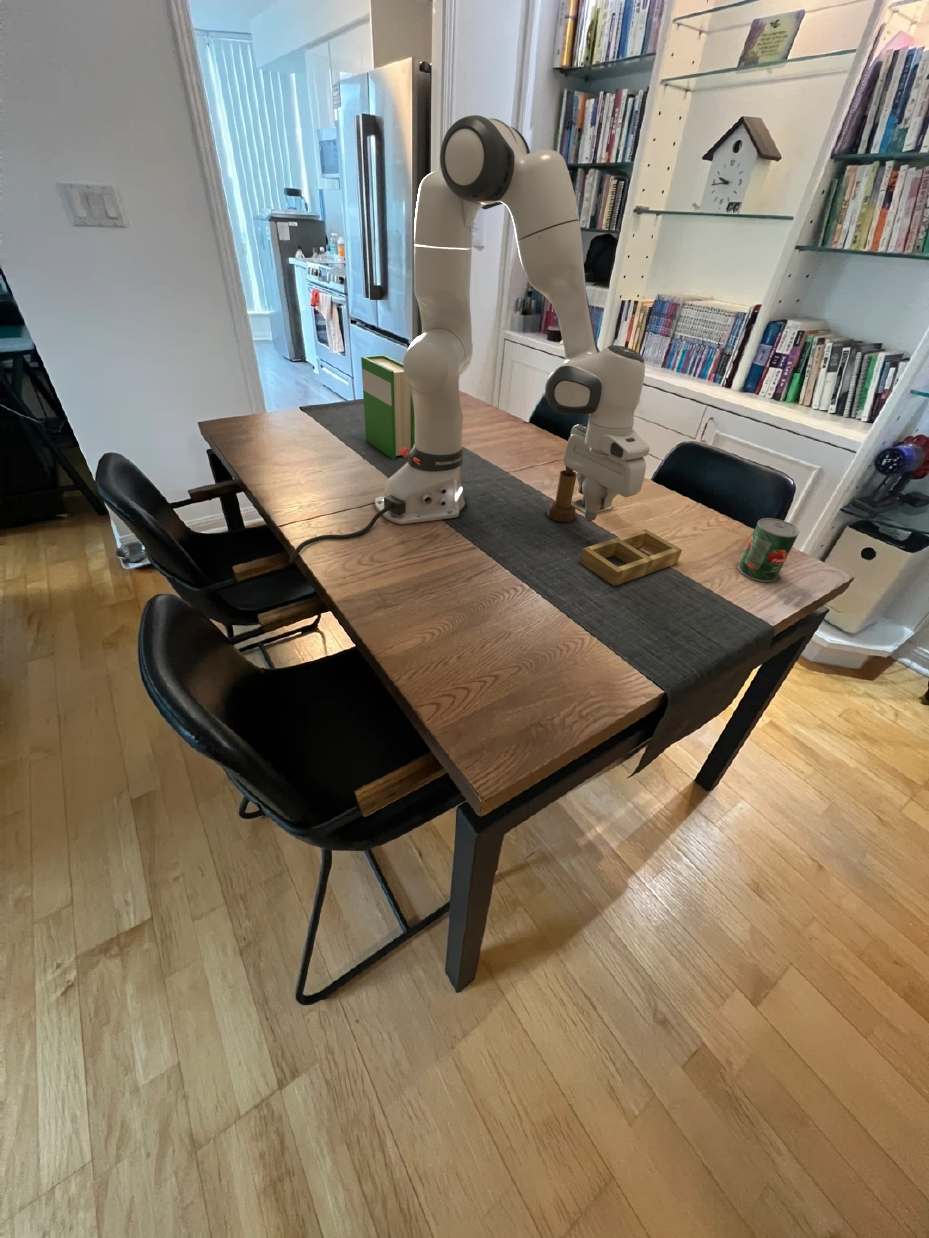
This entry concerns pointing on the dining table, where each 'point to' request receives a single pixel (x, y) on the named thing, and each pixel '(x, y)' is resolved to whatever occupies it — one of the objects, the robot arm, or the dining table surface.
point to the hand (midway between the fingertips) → (594, 499)
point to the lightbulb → (593, 497)
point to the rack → (630, 556)
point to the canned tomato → (768, 549)
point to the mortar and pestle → (564, 497)
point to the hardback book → (387, 405)
